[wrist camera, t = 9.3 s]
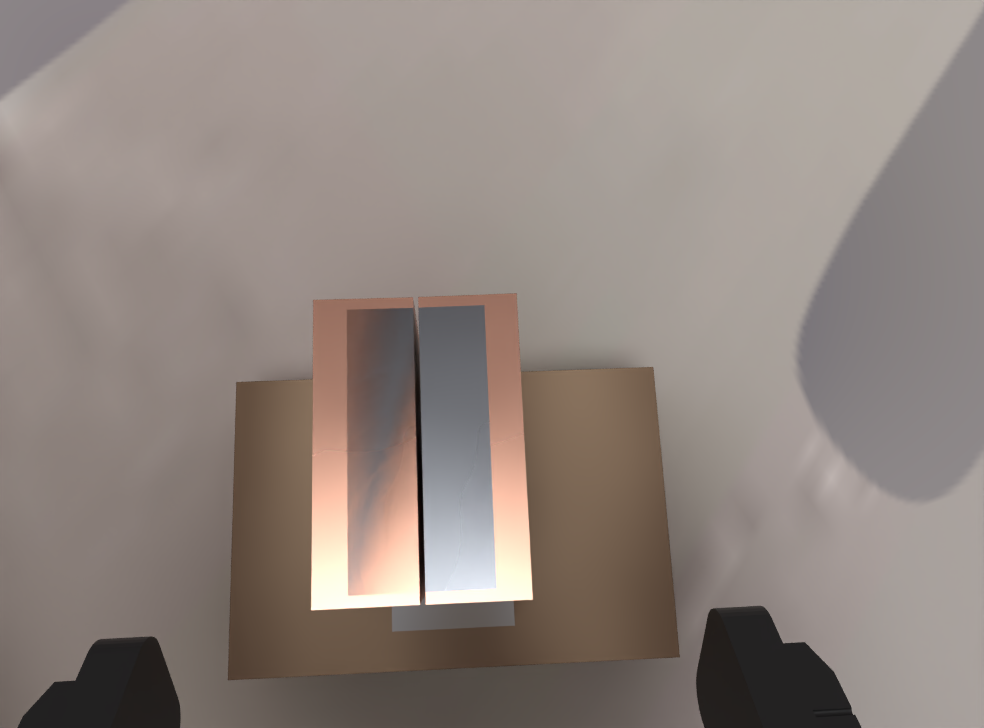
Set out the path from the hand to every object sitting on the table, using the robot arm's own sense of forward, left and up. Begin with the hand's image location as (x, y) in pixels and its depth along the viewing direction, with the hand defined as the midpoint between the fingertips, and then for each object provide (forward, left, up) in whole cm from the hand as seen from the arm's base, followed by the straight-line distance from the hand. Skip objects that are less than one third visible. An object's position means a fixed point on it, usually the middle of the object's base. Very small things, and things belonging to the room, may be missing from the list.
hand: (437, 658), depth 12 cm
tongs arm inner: (+1, +2, -10) cm, 10 cm away
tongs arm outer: (+2, +2, -10) cm, 10 cm away
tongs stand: (+1, +2, -13) cm, 13 cm away
